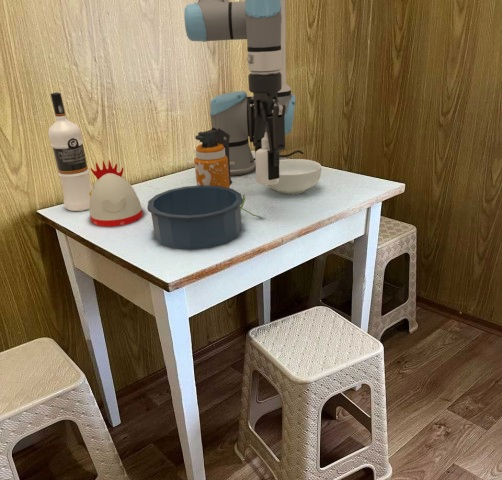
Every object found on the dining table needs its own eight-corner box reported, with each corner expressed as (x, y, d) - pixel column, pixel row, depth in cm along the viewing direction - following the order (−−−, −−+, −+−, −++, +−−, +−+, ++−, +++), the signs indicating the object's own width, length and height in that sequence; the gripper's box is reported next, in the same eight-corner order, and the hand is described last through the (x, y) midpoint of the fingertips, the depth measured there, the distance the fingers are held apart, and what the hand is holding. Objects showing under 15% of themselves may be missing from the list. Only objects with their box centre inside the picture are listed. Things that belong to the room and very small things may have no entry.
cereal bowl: (306, 178, 161) (307, 155, 157) (330, 194, 148) (331, 169, 144) (255, 186, 157) (254, 162, 153) (274, 203, 144) (274, 177, 140)
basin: (218, 208, 142) (216, 179, 138) (260, 235, 125) (259, 203, 121) (140, 227, 133) (134, 197, 129) (173, 258, 117) (168, 225, 112)
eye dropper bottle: (266, 178, 133) (265, 129, 126) (281, 183, 129) (281, 132, 122) (253, 182, 130) (251, 132, 124) (268, 187, 127) (267, 136, 120)
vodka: (92, 198, 154) (67, 88, 138) (102, 207, 148) (78, 92, 131) (61, 205, 150) (32, 93, 133) (70, 214, 143) (41, 97, 127)
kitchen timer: (90, 211, 145) (78, 157, 136) (139, 205, 147) (130, 151, 139) (91, 229, 133) (78, 171, 125) (145, 222, 136) (135, 164, 128)
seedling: (250, 236, 137) (228, 224, 136) (261, 211, 139) (240, 199, 137) (258, 228, 130) (235, 215, 129) (270, 201, 132) (248, 188, 131)
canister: (192, 205, 145) (184, 131, 134) (220, 195, 152) (214, 123, 141) (214, 212, 140) (207, 135, 129) (242, 201, 146) (238, 126, 135)
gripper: (231, 70, 121) (236, 170, 134) (271, 77, 108) (273, 188, 120) (258, 67, 124) (261, 165, 137) (301, 73, 111) (300, 182, 123)
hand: (267, 175), depth 129 cm, fingers closed on eye dropper bottle, 5 cm apart
